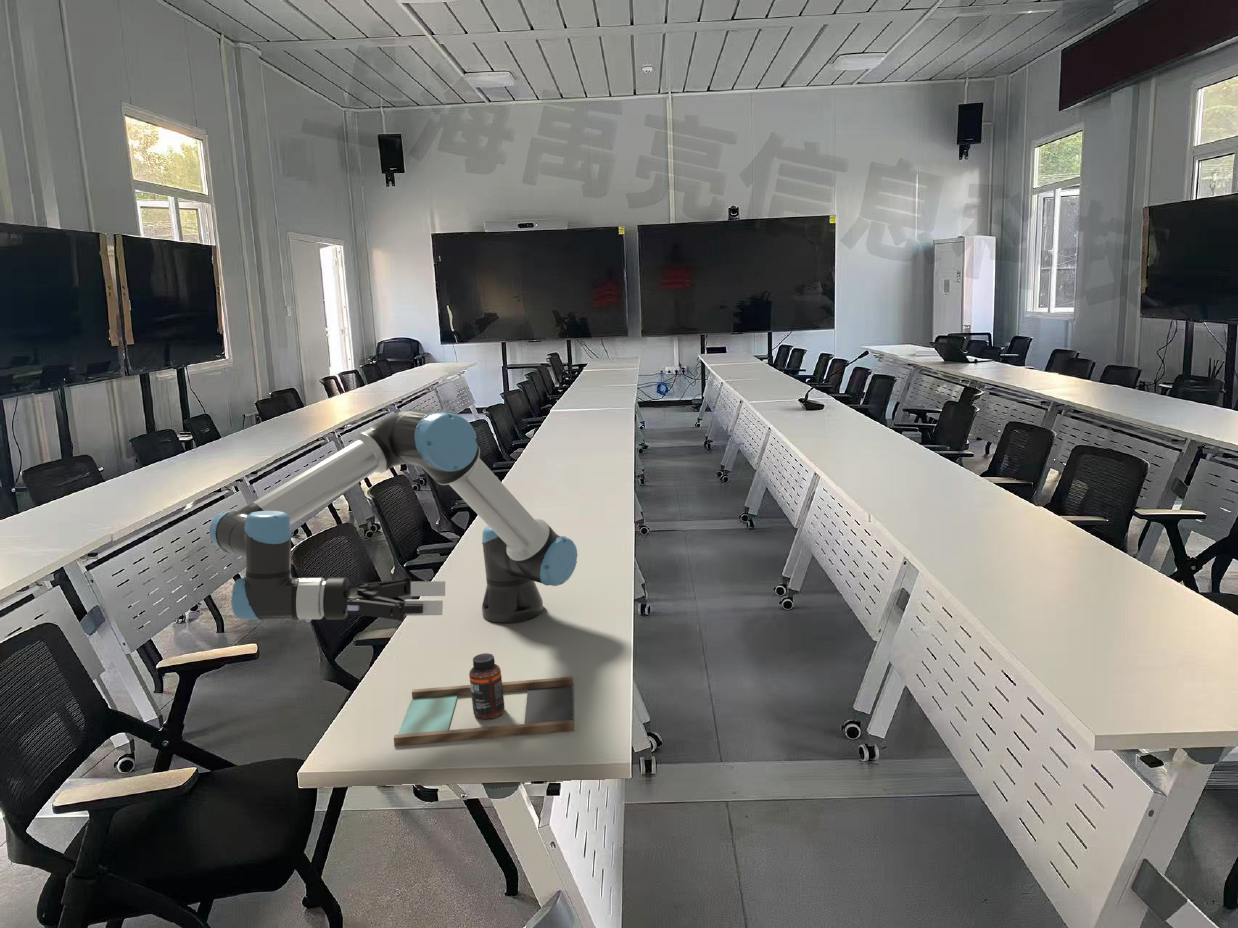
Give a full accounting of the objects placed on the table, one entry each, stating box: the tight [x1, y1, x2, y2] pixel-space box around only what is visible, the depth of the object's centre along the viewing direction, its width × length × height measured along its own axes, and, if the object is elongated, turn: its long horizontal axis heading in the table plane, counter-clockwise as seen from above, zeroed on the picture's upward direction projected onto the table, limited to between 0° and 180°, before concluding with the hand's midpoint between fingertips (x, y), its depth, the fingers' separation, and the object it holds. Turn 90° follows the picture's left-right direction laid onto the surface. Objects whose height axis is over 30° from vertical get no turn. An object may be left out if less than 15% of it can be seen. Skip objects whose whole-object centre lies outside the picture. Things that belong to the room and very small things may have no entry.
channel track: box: [393, 676, 574, 747], centre depth 164 cm, size 32×19×2 cm, turn 93°
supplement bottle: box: [468, 652, 506, 720], centre depth 163 cm, size 6×6×11 cm
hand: (444, 597), depth 160 cm, fingers open, 13 cm apart
